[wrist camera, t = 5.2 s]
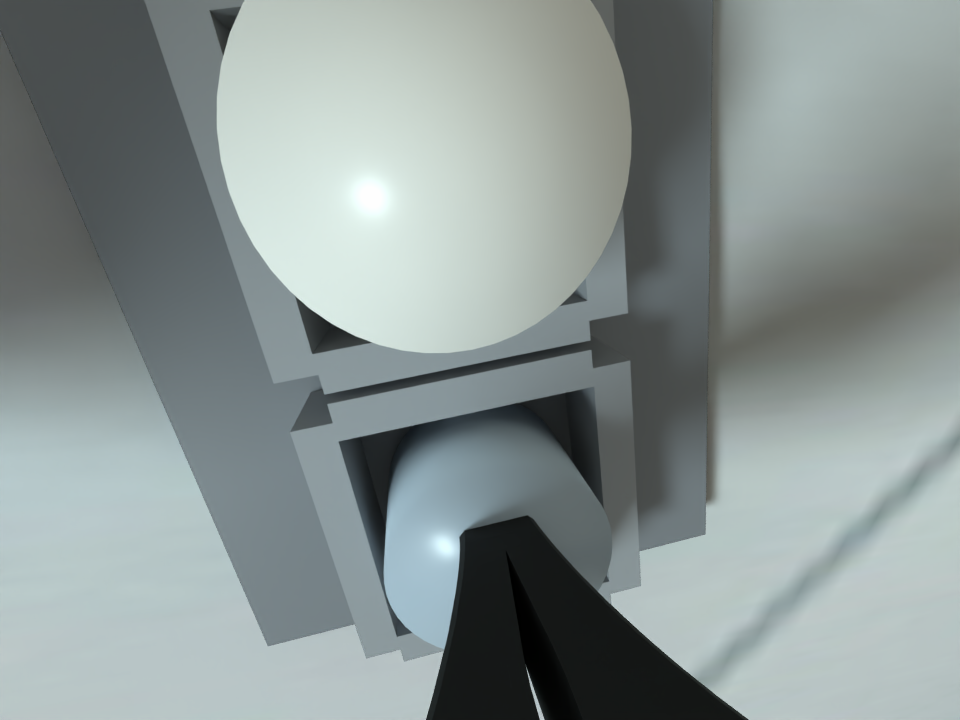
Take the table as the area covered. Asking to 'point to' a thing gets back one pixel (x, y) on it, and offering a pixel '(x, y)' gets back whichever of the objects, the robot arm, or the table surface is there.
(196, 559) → the table surface
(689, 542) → the table surface
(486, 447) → the button slate
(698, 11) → the panel
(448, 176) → the button ivory
